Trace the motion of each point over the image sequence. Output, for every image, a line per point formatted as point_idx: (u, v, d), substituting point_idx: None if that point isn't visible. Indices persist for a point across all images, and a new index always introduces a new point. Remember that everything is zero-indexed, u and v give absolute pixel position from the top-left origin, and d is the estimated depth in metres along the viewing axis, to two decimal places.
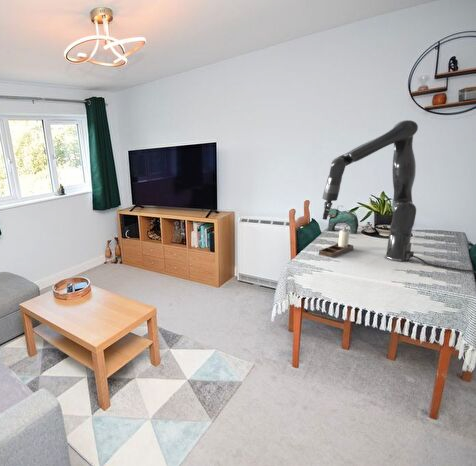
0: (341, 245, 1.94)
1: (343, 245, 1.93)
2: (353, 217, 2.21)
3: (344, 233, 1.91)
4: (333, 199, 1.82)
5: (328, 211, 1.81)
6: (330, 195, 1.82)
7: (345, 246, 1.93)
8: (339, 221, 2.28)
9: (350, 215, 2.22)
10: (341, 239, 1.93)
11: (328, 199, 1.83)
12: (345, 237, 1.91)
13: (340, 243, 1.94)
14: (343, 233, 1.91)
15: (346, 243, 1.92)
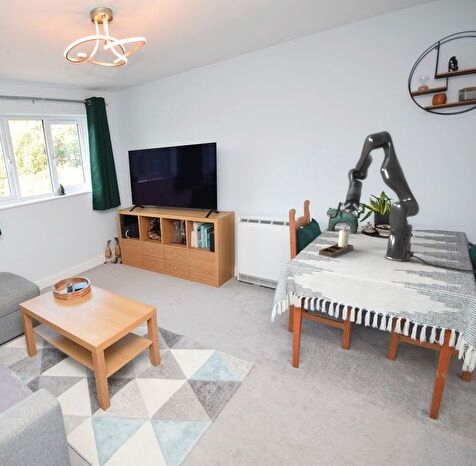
0: (341, 245, 1.94)
1: (343, 245, 1.93)
2: (353, 217, 2.21)
3: (344, 233, 1.91)
4: (346, 199, 2.00)
5: None
6: (346, 197, 2.03)
7: (345, 246, 1.93)
8: (339, 221, 2.28)
9: (350, 215, 2.22)
10: (341, 239, 1.93)
11: (345, 201, 2.03)
12: (345, 237, 1.91)
13: (340, 243, 1.94)
14: (343, 233, 1.91)
15: (346, 243, 1.92)
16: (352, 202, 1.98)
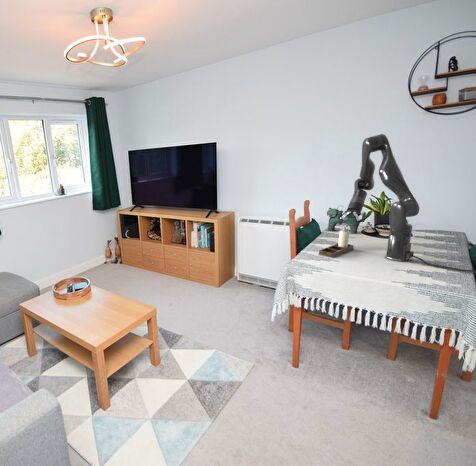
0: (341, 245, 1.94)
1: (343, 245, 1.93)
2: None
3: (344, 233, 1.91)
4: None
5: None
6: None
7: (345, 246, 1.93)
8: None
9: None
10: (341, 239, 1.93)
11: None
12: (345, 237, 1.91)
13: (340, 243, 1.94)
14: (343, 233, 1.91)
15: (346, 243, 1.92)
16: (353, 211, 1.97)
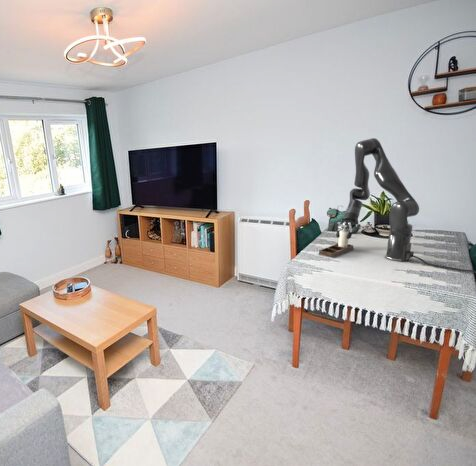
0: (341, 245, 1.94)
1: (343, 245, 1.93)
2: None
3: (344, 233, 1.91)
4: (343, 217, 1.97)
5: None
6: None
7: (345, 246, 1.93)
8: (339, 221, 2.28)
9: None
10: (341, 239, 1.93)
11: None
12: (345, 237, 1.91)
13: (340, 243, 1.94)
14: (343, 233, 1.91)
15: (346, 243, 1.92)
16: (348, 221, 1.94)
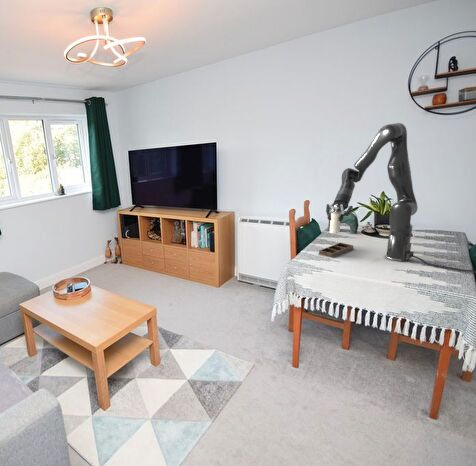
0: (333, 228, 1.85)
1: (334, 228, 1.85)
2: (353, 217, 2.21)
3: (335, 215, 1.83)
4: None
5: (326, 210, 1.90)
6: None
7: (337, 229, 1.85)
8: None
9: (350, 215, 2.22)
10: (333, 221, 1.85)
11: None
12: (337, 219, 1.83)
13: (331, 226, 1.86)
14: (334, 215, 1.83)
15: (338, 226, 1.84)
16: (340, 203, 1.86)
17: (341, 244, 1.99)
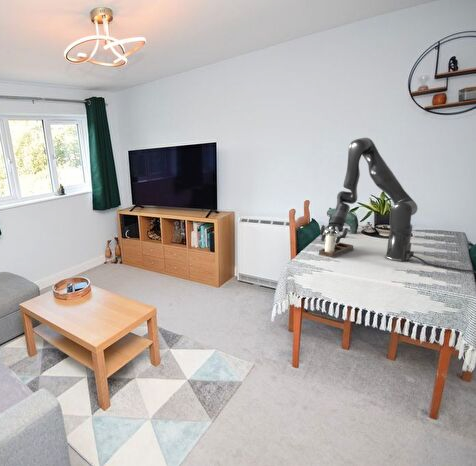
0: (327, 250, 1.87)
1: (329, 249, 1.87)
2: (353, 217, 2.21)
3: (330, 237, 1.85)
4: (329, 222, 1.91)
5: (320, 231, 1.92)
6: None
7: (331, 251, 1.87)
8: None
9: (350, 215, 2.22)
10: (328, 243, 1.86)
11: None
12: (331, 242, 1.85)
13: (326, 248, 1.88)
14: (329, 237, 1.85)
15: (332, 248, 1.86)
16: (335, 225, 1.88)
17: (341, 244, 1.99)
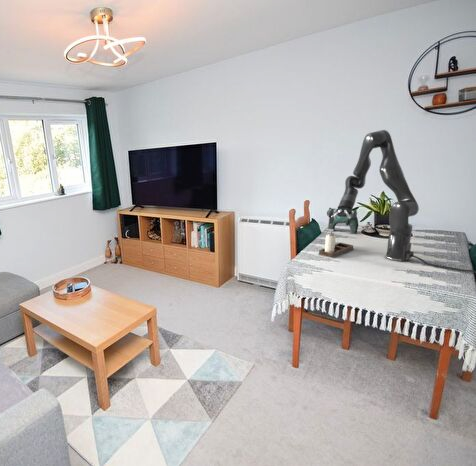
0: (327, 250, 1.87)
1: (329, 249, 1.87)
2: None
3: (330, 237, 1.85)
4: None
5: None
6: None
7: (331, 251, 1.87)
8: (339, 221, 2.28)
9: (350, 215, 2.22)
10: (328, 243, 1.86)
11: None
12: (331, 242, 1.85)
13: (326, 248, 1.88)
14: (329, 237, 1.85)
15: (332, 248, 1.86)
16: (344, 209, 1.94)
17: (341, 244, 1.99)
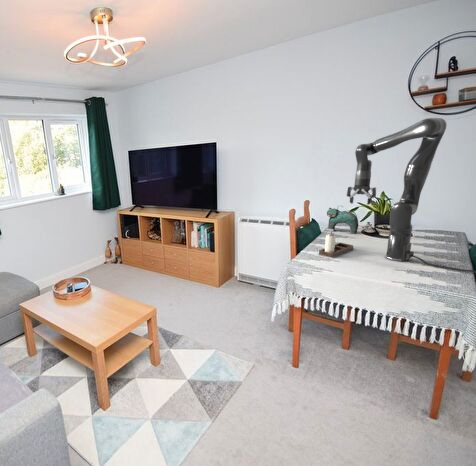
0: (327, 250, 1.87)
1: (329, 249, 1.87)
2: (353, 217, 2.21)
3: (330, 237, 1.85)
4: None
5: (347, 194, 1.95)
6: None
7: (331, 251, 1.87)
8: (339, 221, 2.28)
9: (350, 215, 2.22)
10: (328, 243, 1.86)
11: None
12: (331, 242, 1.85)
13: (326, 248, 1.88)
14: (329, 237, 1.85)
15: (332, 248, 1.86)
16: (361, 187, 1.88)
17: (341, 244, 1.99)
